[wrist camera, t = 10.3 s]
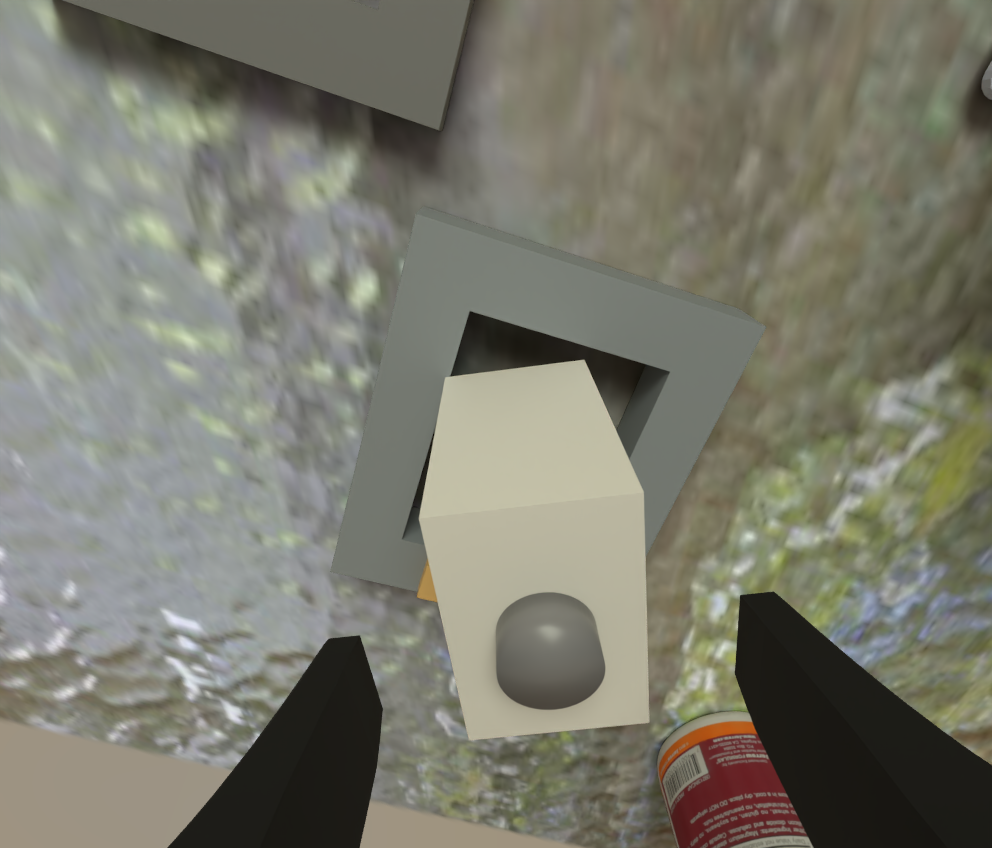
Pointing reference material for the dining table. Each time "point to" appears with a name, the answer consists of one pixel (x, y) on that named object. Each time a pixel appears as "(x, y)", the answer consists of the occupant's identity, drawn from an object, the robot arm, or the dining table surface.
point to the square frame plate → (325, 44)
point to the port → (550, 310)
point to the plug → (537, 553)
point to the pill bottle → (725, 787)
